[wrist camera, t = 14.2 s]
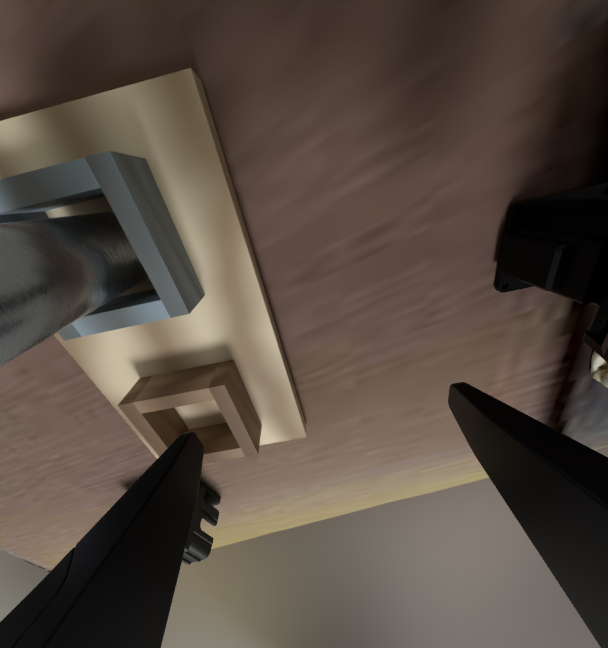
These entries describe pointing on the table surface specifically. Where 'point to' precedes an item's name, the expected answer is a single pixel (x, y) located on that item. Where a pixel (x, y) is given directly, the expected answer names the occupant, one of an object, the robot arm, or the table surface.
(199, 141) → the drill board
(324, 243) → the table surface
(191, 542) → the end cap
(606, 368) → the storage basket
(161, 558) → the robot arm
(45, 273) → the grey long rounded piece
